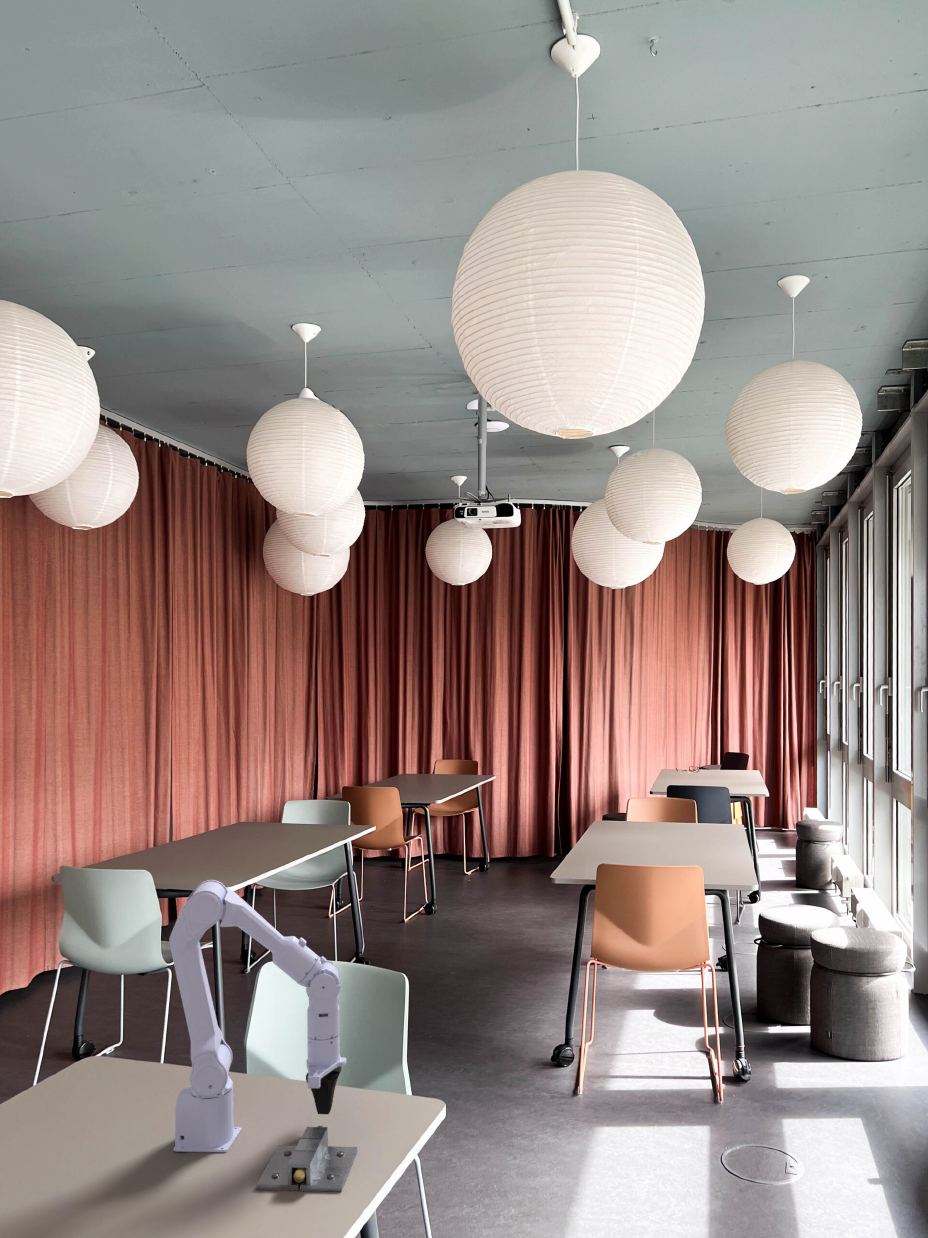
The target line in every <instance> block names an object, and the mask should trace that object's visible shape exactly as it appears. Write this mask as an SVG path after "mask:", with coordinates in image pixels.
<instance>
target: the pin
mask: <svg viewBox="0 0 928 1238" xmlns="http://www.w3.org/2000/svg"><path fill="white" fill-rule="evenodd" d="M316 1127H324V1126H323V1125H317V1126H316ZM305 1177H306V1168H297V1169H296V1171H295V1173H294V1180H295V1181H296V1182H298V1183H300V1182H303V1181H304V1179H305Z"/></svg>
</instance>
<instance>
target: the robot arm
mask: <svg viewBox="0 0 928 1238" xmlns="http://www.w3.org/2000/svg"><path fill="white" fill-rule="evenodd" d="M177 916H178V917H177V919H176V921H175V924H174V926H173V929H172V931H171V932H170V936H169V947H170V952H171V957H172V961H173V965H174V970H175V976H176V980H177V984H178V989H179V994H180V997H181V1001H182V1007H183V1011H184V1015H185V1021H186V1025H187V1029H188V1034H189V1039H190V1060H191V1073H190V1075H189V1083H190V1087H184V1088H182V1089H181V1090H180V1091H179V1094H178V1096H177V1099H176V1104H175V1111H174V1124H175V1125H174V1127H175V1129H174V1131H175V1132H174V1133H175V1134H174V1135H175V1138H174V1139H175V1143H174V1145H175V1146H174V1147H173V1152H181V1153H182V1152H183V1153H187V1152H188V1153H228V1151H229V1150H230V1148H231V1147H232V1146H233V1144H234V1142H235V1141H236V1139H237V1138H238V1136H239V1135H240V1134H241V1132H242V1127H239V1126H234V1081H233V1080H232V1079H231V1077H230V1075H229V1072H230V1069H231V1065H232V1062H233V1058H234V1057H233V1051H232V1049H231V1047H230V1045H228V1043H227V1042H226V1040H225V1039H224V1036H223V1032H222V1030H221V1029H220V1027H219V1025H218V1020H217V1015H216V1011H215V1007H214V1001H213V998H212V993H211V988H210V984H209V980H208V975H207V971H206V966H205V961H204V958H203V953H202V952H203V951H202V947H201V943H200V940H201V939H202V938H203V936H204V934H205V933H206V931H208V930H209V929H210V928H212V927H213V926H215V924H216V923H218V921H220V920H221V923H220V924H219V927H220V928H226V927H227V928H229V927H230V928H231V927H236V928H237V927H238V928H239V929H241V930H242V931H243V932H244V933H245V934H247V935H248V936H250V937H251V938H252V939H254V940H255V941H257V942H258V943H259V944H261V945H262V947H264V948H265V949H267V950H268V951H269V952H271V954H272V963H273V964H274V965H275V966H276V967H277V968H278V969H280V970H281V971H282V972H283V973H284V974H286V975H287V976H288V977H289V978H290V979H292V980H293V981H294V982H295V983H297V984H298V986H299V985H300V986H302V987H305V992H306V995H307V998H308V1007H307V1011H306V1013H307V1014H306V1015H307V1016H306V1017H307V1019H306V1020H307V1026H306V1028H307V1030H306V1031H307V1035H306V1036H307V1059H306V1070H307V1073H306V1074H305V1081H306V1083H307V1089H310V1091H311V1092H312V1096H313V1100H314V1104H315V1109H316V1112H317V1113H316V1114H318V1115H329V1114H330V1113H331V1110H332V1107H333V1103H334V1095H335V1090H336V1086H337V1082H338V1079H339V1076H340V1074H341V1072H342V1069H343V1068H342V1067H343V1066H346V1064H347V1057H341V1053H340V1052H341V1049H340V1047H341V1045H340V1044H341V1042H340V1041H341V1039H340V1038H341V1036H340V1034H341V1033H340V1032H341V1030H340V1028H341V1027H340V1026H341V1025H340V1024H341V1023H340V1005H339V1001H340V997H339V994H340V991H341V985H340V974H339V970H338V968H337V967H336V965H334V962H333V961H331V960H327V958H326V957H324V956H323V955H322V956H319V955H318V954H317V953H316V952H314V951H313V950H312V949H311V948H309V947H308V946H307V940H306V939H304V938H303V937H302V936H301V937H300V938H297V937H296V936H294V935H290V936H284V935H283V934H281V933H280V932H279V931H278V930H277V929H276V928H275V927H274V926H273V925H272V924H271V923H269V922H268V921H267V920H266V919H265V918H264V917H263V916H262V915H260V913H258V912H257V911H256V909H254V908H253V907H252V906H251V905H250V904H249V903H248V902H246V901H245V900H244V899H243V898H242V897H241V896H240V895H238V893H236V892H235V891H234V890H232V889H230V888H229V889H228V888H227V887H226V886H225V884H224V883H222V882H220V881H219V880H216V879H207V880H204V881H201V882H200V883H199V884H198V885H197V886H196V887H195V889H193V891H192V892H191V894H189V896H188V897H187V899H186V900H185V902H184V904H183V906H181V908H180V911H179V913H178V915H177Z"/></svg>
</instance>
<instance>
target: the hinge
mask: <svg viewBox="0 0 928 1238" xmlns="http://www.w3.org/2000/svg"><path fill="white" fill-rule="evenodd" d="M328 1129H329V1128H328V1126H323V1127H317V1126H306V1128H305V1130H304V1131H303V1133H302V1135H301V1138H300V1139H299V1141H298V1143H297V1145H278V1146H277V1147H276V1150H275V1151H274V1153H273V1155H272V1156H271V1158H270V1160H269V1161H268V1163H267V1165H266V1167H265V1169H264V1171H263V1172H262V1173H261V1175H260V1178H259V1179H258V1181H257V1183H256V1190H259V1191H261V1190H262V1191H267V1190H268V1191H298V1190H300V1191H302V1192H303V1191H309V1192H310V1191H311V1192H343V1189H344V1187H345V1185H346V1182H347V1179H348V1177H349V1173H350V1172H351V1169H352V1166H353V1163H354V1162H355V1159H356V1156H357V1154H358V1146H334V1145H333V1146H331V1145H330V1146H329V1136H328V1135H329V1130H328ZM297 1168H306V1177H305V1179H304V1181H303V1182H300V1183H298V1182H296V1181H295V1180H294V1173H295V1171H296V1169H297Z"/></svg>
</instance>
